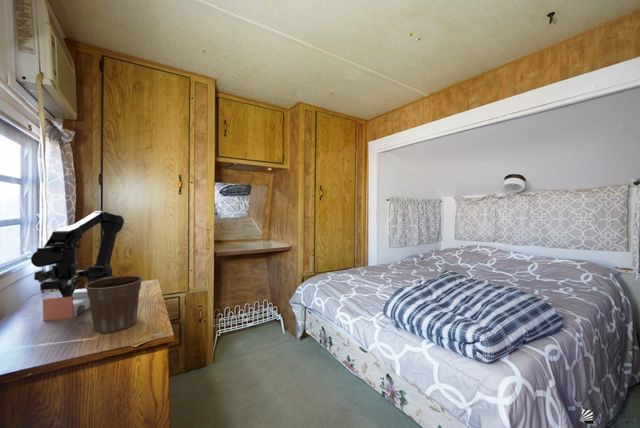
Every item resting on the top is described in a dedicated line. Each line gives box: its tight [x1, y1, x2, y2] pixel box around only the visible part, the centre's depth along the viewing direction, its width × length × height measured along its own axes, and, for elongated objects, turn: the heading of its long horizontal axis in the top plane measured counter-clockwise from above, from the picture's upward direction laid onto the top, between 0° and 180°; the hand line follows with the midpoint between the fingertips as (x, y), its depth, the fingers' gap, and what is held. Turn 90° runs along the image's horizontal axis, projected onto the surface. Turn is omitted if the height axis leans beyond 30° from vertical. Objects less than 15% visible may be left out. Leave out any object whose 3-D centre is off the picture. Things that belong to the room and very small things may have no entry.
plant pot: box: [84, 275, 143, 334], centre depth 94 cm, size 16×16×16 cm
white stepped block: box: [71, 288, 91, 318], centre depth 106 cm, size 15×11×7 cm
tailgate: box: [42, 296, 75, 322], centre depth 98 cm, size 1×9×8 cm, turn 107°
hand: (67, 300), depth 103 cm, fingers closed
